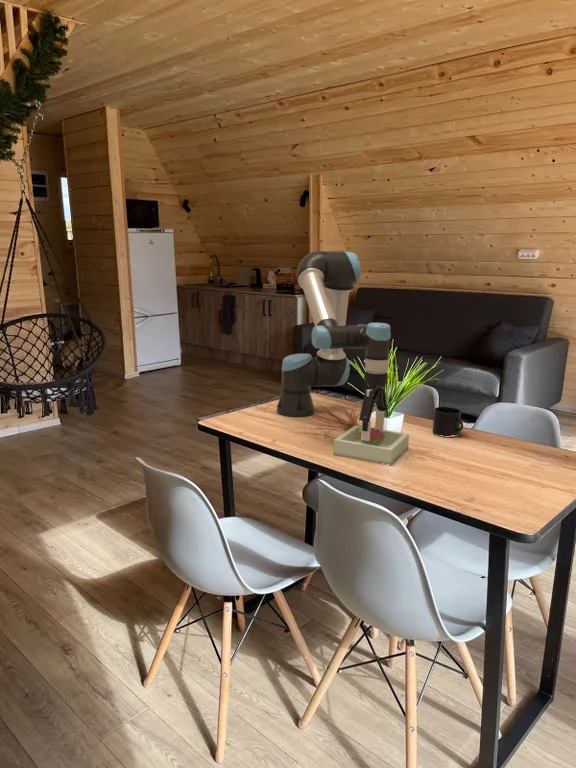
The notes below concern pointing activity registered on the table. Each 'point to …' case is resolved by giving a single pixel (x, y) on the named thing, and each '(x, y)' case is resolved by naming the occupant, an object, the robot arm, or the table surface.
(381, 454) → the serving bin
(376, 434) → the cupcake
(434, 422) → the mug
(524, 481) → the table surface
